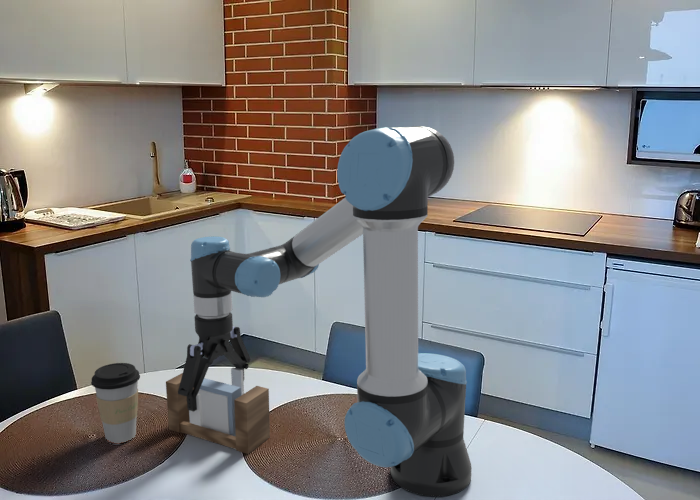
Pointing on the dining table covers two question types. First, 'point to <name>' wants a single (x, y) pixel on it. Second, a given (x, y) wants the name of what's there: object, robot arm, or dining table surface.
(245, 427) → the track
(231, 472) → the dining table surface
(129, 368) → the coffee cup
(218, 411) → the door panel
